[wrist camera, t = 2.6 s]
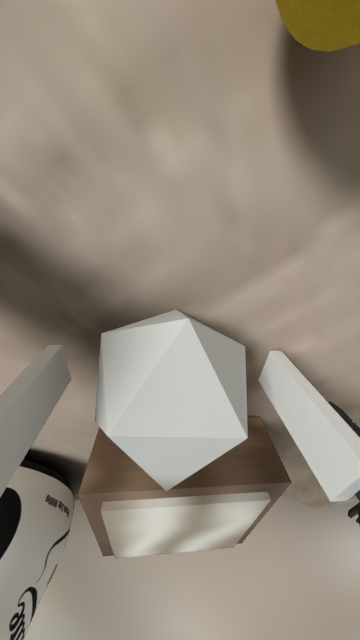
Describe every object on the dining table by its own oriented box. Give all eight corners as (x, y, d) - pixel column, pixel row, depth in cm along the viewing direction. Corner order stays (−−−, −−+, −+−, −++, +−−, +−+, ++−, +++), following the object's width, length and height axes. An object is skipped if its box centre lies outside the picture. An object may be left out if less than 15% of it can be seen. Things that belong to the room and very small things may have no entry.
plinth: (115, 491, 25) (101, 563, 20) (102, 418, 17) (74, 504, 12) (227, 484, 27) (243, 549, 21) (259, 416, 19) (295, 490, 14)
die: (91, 307, 13) (41, 484, 9) (178, 238, 7) (155, 648, 3) (174, 337, 18) (168, 456, 14) (262, 311, 12) (295, 498, 8)
